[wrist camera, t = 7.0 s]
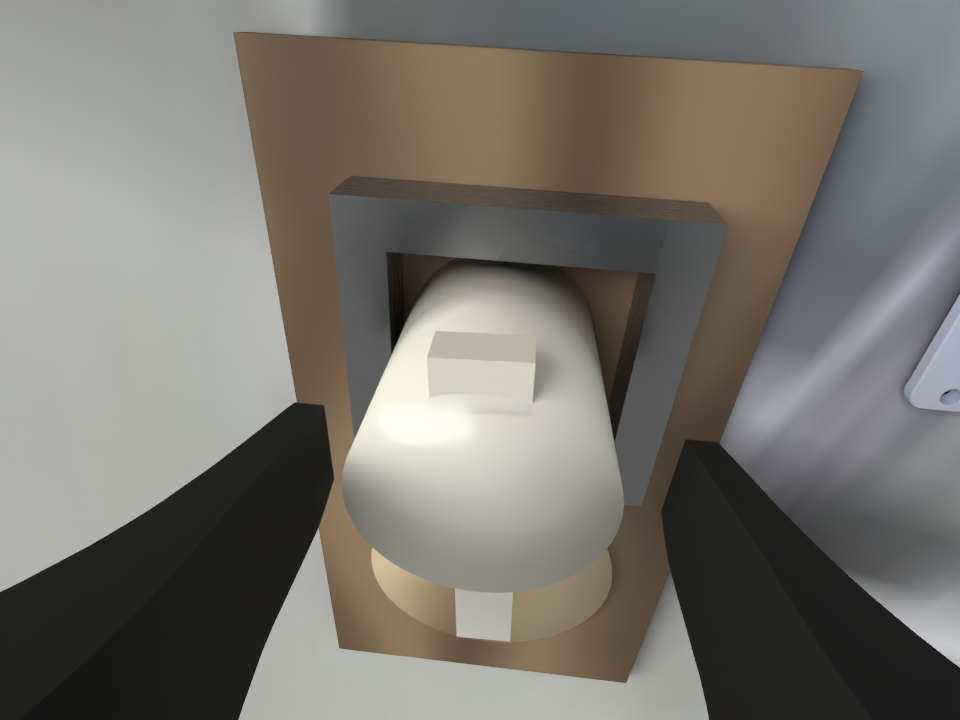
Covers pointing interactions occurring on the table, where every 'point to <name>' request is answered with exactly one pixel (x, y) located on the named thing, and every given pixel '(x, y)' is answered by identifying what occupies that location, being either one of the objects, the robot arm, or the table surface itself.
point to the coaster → (530, 609)
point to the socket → (536, 240)
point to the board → (570, 168)
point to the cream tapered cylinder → (489, 441)
